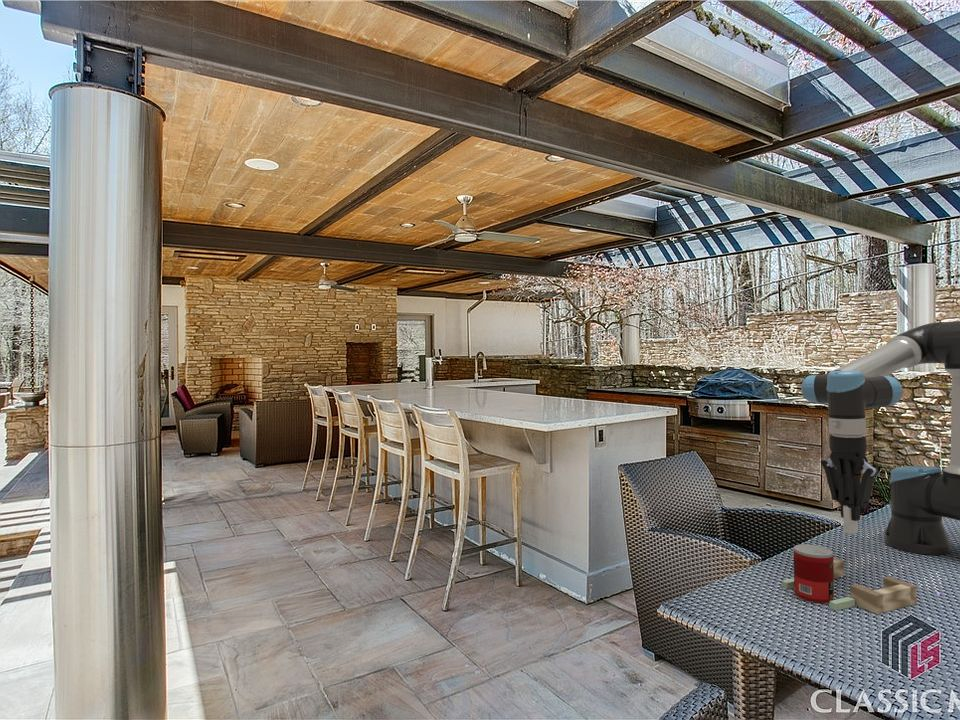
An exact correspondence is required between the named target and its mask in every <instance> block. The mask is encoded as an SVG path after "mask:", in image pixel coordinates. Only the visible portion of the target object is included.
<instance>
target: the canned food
mask: <svg viewBox="0 0 960 720" xmlns="http://www.w3.org/2000/svg"><path fill="white" fill-rule="evenodd" d="M833 559H834V552H833V550H831V549H829V548H827V547H824V546H821V545H816V544H805V543H801V544H796V545H794V546H793V578H794V592H795V595H796V596H797V597H798V598H800V599H803V601H808V602H811V603H815V604H816V603H817V604H828V603H829V601H832V600H834V597H835V581H834V580H835V579H834V561H833Z"/></svg>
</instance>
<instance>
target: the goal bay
mask: <svg viewBox="0 0 960 720" xmlns="http://www.w3.org/2000/svg"><path fill="white" fill-rule="evenodd" d="M781 588H783V589H786V590H790V589H793V588H794V577H792V578H788V579H784V580H781ZM828 603H829V609H831V610H833V611H836V612H837V611H840V610H844V609H848V608H853V607H856V605H855V599H853V598H850V596H846V597H842V598H837V599H833V600H832V601H829V602H828Z"/></svg>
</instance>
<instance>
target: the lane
mask: <svg viewBox="0 0 960 720" xmlns="http://www.w3.org/2000/svg"><path fill="white" fill-rule="evenodd" d="M833 561H834V578H836V579H838V578H837V577H841V576H845V560H843V559H841V558H840V559H839V558H836V557H835V558H833ZM841 578H842V577H841ZM882 583H883V585H882V586H883V587H882V588H879V589H875V590H873V589H870V588H867V587H865V586H862V585H859V584H858V583H854V584H851V585H849V597H850V598H853V599H855V607H860V608H861V609H864V610H866V611H868V612H871V613H874V614H876V615H879V614H883V613H887V612H890V611H895V610H897V609H902V608H906V607H910V606H914V605H918V597H917V595H918V594H917V593H918V589H917V588H918V587H917V585H914V584H912V583H909V582H907V581H904V580H901V579H898V578H895V577H892V576H886V577H882Z"/></svg>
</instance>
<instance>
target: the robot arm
mask: <svg viewBox="0 0 960 720" xmlns="http://www.w3.org/2000/svg"><path fill="white" fill-rule="evenodd" d="M924 364H944V371H946V372H947V373H948V374H949V375H950V376H951V397H950V399H951V410H950V411H951V413H950V416H951V417H950V420H951V421H950V464H949V465H947V466H946V467H944V468H943V469H941V467H938V466H931V465H928V466H927V465H911V466H910V465H908V466H897V467H895V468H893V469H892V470H891V472H890V481H889V484H890V509H891V514H890V515H891V516H890V519H889V521H888V524H887V526H886V529H885V532H884V543H885V544H887V546H890V547H892V548H894V549H897V550H901V551H904V552H909V553H915V554H920V555H930V556H931V555H933V556H938V555H939V556H941V555H947V554H948V555H949V554H950V553H951V550H952V549H951V541H950V540H949V537H948V535H947V532H946V529H945V527H944V525H943V518H947V519H951V520H954V521H955V520H956V521H959V522H960V320H956V321H936V322H930V323H926V324H923V325H919V326H917V327H913V328H911V329H908V330H906V331H904V332H901V333H899V334H897V335H895V336H893V337H891V338H889V340H887V342H886V343H885V345H883V346H881V347H879V348H877V349H875V350H873V351H871V352H869V353H867V354H864V355H863V356H861V357H858V358H855V359H854V360H852V361H850V362H847V363H846V364H844V365H842V366H840V367H838V368H836V369H834V370H831V371H830V372H828V373H825V374H821V375H820V374H812V375H808V376H806V377H805V378H804V379H803V381H802V382H801V388H800V389H801V393H802V396H803V398H804V399H805V401H808V402H810V403H816V404H819V405H821V404H827V406H828V407H827V408H828V413H827V414H828V433H829V434H830V435H829V436H828V442H829V444H828V445H829V447H828V448H829V450H830V451H831V452H830V454H829V458H827V459H822V460H821V461H820V464H821V466H822V467H823V469H824V473H825V477H826V480H827V481H826V482H827V484H828V488H829V492H830V496H831V499H832V500H833V501H836V502H837V503H838V504H839V505H840V517H841V518H843V533H844V534H848V535H854V534H858V533H859V525H858V524H859V522H858V521H860V520H861V507H865V506H868V505H869V504H870V499H871V494H872V489H873V485H874V481H875V477H876V475H877V474H878V472H879V468H878V467H876V466H875V467H873V466H872V465H871V464H870V463H869V462H868V458H867V457H866V456H867V455H866V453H867V451H868V448H867V445H868V444H867V437H866V436H865V435H866V434H867V422H866V421H867V420H866V418H867V417H866V409H871V408H886V407H889V406H893V405H896V404H897V403H899V401H901V399H902V397H903V391H904V390H903V387H902V386H903V385H902V384H901V382H900V381H899V380H898V379H896V378H895V377H893V376H890V375H891V374H893V373H895V372H897V371H899V370H901V369H904V368H905V369H910V368H914V367H915V366H918V365H924Z"/></svg>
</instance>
